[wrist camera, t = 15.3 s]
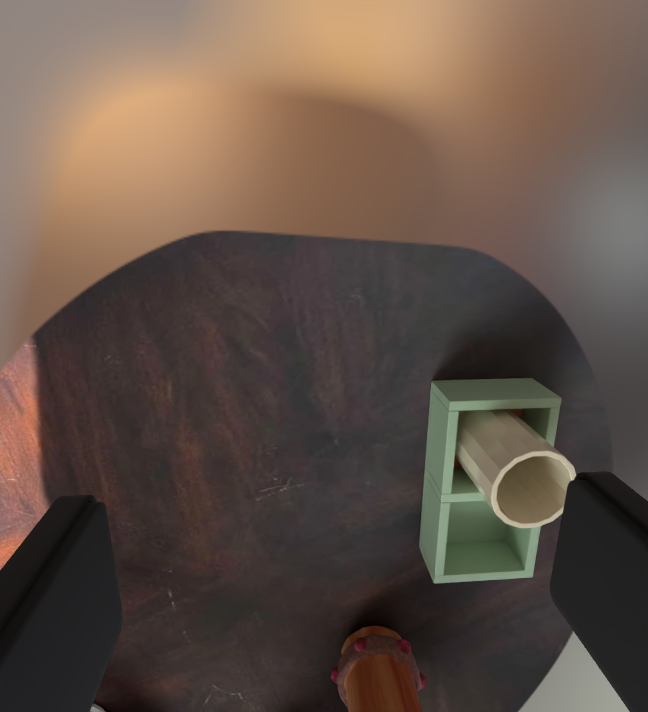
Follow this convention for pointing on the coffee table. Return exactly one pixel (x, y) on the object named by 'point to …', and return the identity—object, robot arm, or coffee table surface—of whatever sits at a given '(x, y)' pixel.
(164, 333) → the coffee table surface
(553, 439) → the cup holder
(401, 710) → the mug
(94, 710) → the lattice window wall
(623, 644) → the robot arm
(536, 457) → the paper cup
